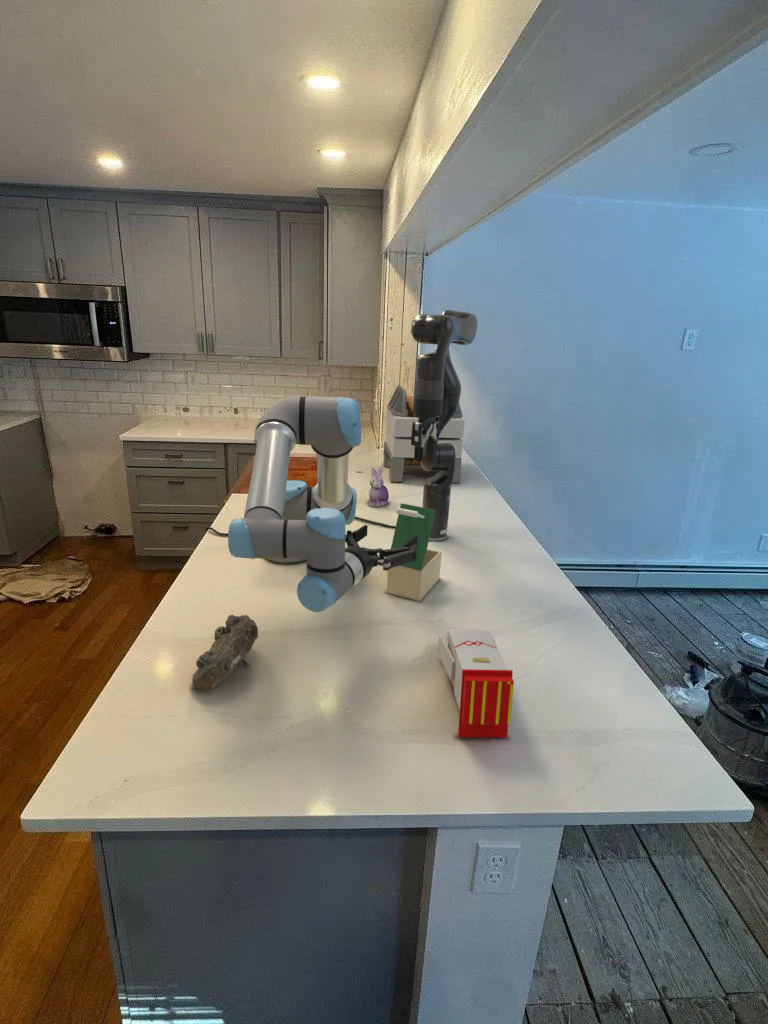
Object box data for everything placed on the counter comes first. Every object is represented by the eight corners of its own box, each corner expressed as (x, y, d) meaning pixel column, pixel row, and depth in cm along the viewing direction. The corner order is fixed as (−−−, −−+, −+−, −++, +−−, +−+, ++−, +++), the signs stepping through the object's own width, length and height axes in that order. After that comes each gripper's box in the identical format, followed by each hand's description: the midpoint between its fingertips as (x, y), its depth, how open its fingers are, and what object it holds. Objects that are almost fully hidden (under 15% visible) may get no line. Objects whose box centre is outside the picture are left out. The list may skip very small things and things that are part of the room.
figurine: (373, 508, 223) (374, 472, 218) (362, 500, 232) (363, 465, 226) (394, 505, 227) (396, 469, 222) (382, 498, 236) (384, 463, 231)
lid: (401, 503, 156) (391, 499, 149) (435, 510, 153) (426, 505, 145) (388, 562, 156) (377, 561, 148) (422, 570, 152) (412, 569, 144)
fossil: (211, 617, 133) (257, 588, 128) (239, 645, 136) (285, 617, 131) (171, 683, 114) (223, 651, 109) (205, 714, 117) (257, 684, 112)
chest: (408, 571, 172) (410, 544, 169) (439, 578, 168) (441, 551, 165) (386, 592, 158) (388, 564, 155) (419, 601, 154) (421, 572, 151)
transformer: (382, 463, 289) (386, 382, 275) (445, 464, 293) (451, 384, 279) (390, 482, 257) (394, 392, 243) (460, 483, 261) (468, 394, 247)
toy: (488, 613, 130) (523, 677, 101) (484, 667, 133) (517, 744, 104) (435, 612, 130) (455, 676, 101) (432, 666, 133) (451, 743, 103)
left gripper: (300, 570, 128) (345, 539, 146) (401, 597, 118) (436, 560, 136) (300, 539, 125) (346, 512, 144) (403, 564, 116) (439, 531, 134)
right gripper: (432, 401, 139) (427, 465, 144) (451, 394, 151) (446, 454, 156) (404, 398, 141) (400, 461, 147) (425, 391, 154) (421, 450, 159)
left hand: (390, 535), depth 140 cm, fingers open, 13 cm apart
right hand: (424, 457), depth 152 cm, fingers open, 8 cm apart
